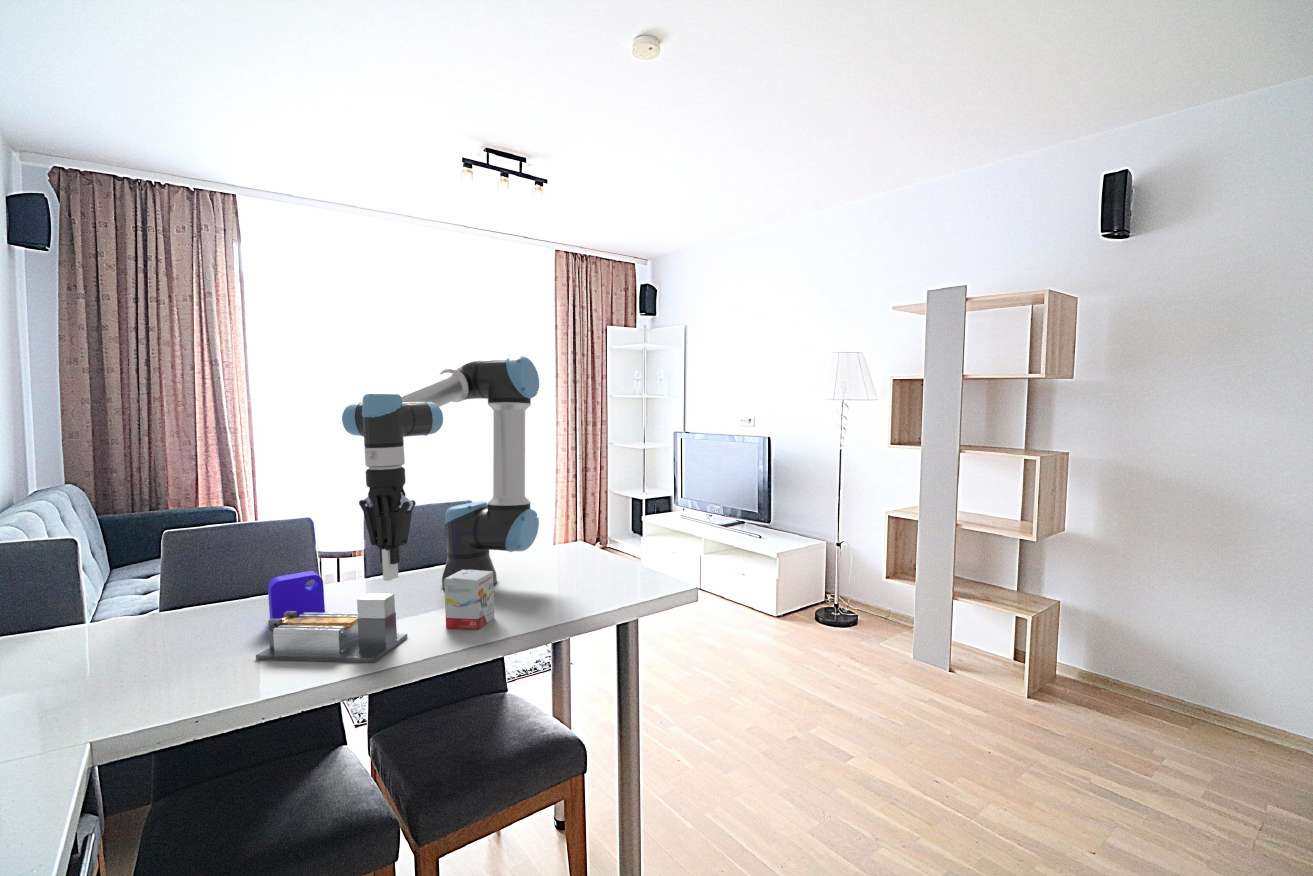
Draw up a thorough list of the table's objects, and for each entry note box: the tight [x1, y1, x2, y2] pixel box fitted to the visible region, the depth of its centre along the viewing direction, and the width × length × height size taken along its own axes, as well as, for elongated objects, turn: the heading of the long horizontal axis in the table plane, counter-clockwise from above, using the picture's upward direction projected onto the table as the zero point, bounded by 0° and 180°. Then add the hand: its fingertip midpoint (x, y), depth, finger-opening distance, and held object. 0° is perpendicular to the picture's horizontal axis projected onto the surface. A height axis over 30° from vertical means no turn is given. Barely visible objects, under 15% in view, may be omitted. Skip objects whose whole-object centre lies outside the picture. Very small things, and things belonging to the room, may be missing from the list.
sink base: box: [255, 611, 408, 664], centre depth 132 cm, size 13×26×7 cm, turn 84°
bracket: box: [267, 570, 326, 620], centre depth 153 cm, size 18×11×12 cm, turn 39°
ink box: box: [444, 570, 495, 631], centre depth 146 cm, size 9×9×12 cm
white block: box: [356, 592, 396, 619], centre depth 131 cm, size 4×6×4 cm, turn 84°
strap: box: [280, 616, 358, 627], centre depth 133 cm, size 3×18×2 cm, turn 84°
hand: (390, 578), depth 130 cm, fingers closed
